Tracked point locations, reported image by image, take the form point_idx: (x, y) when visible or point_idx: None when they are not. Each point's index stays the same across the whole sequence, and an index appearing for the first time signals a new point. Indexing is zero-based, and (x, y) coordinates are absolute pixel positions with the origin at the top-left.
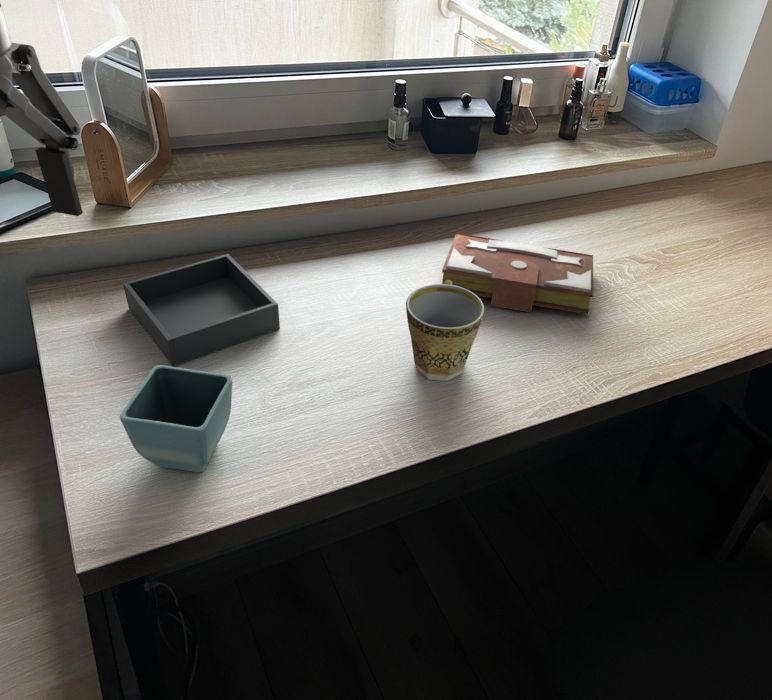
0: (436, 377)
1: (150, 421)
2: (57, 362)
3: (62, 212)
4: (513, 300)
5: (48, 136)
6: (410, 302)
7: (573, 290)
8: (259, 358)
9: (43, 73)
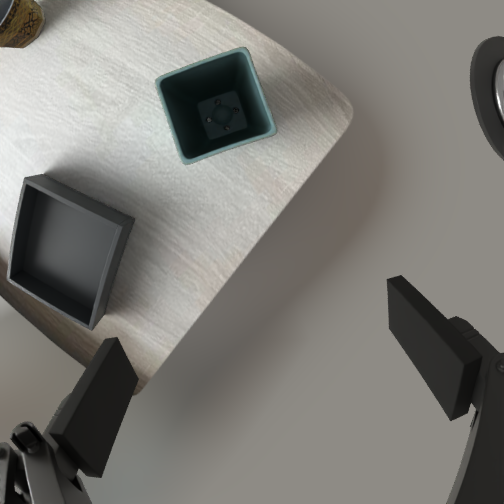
0: (43, 15)
1: (264, 99)
2: (192, 312)
3: (130, 365)
4: None
5: (62, 484)
6: None
7: None
8: (82, 157)
9: None
